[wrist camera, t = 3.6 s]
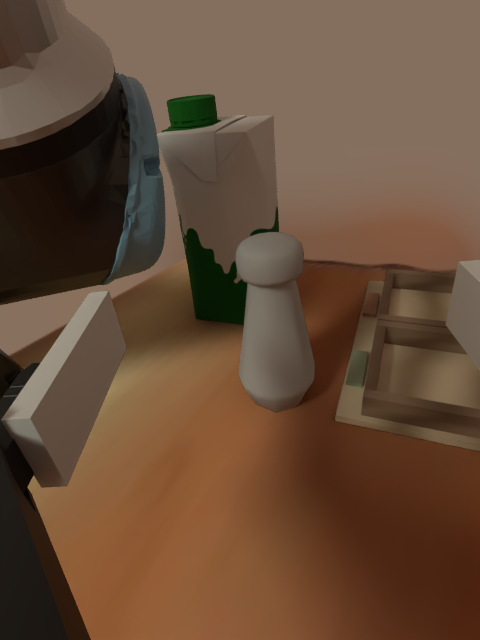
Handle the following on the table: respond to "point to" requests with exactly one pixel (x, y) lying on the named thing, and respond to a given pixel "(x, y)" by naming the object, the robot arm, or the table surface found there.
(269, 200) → the milk carton
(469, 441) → the socket board
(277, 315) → the salt shaker
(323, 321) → the table surface
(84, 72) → the robot arm
